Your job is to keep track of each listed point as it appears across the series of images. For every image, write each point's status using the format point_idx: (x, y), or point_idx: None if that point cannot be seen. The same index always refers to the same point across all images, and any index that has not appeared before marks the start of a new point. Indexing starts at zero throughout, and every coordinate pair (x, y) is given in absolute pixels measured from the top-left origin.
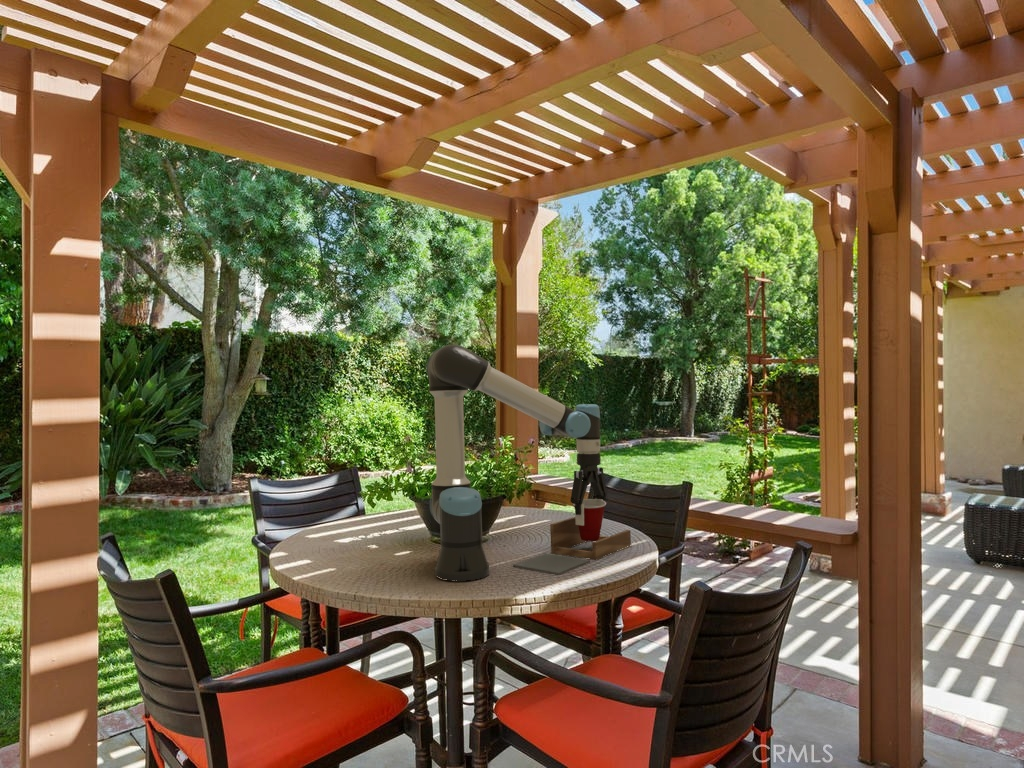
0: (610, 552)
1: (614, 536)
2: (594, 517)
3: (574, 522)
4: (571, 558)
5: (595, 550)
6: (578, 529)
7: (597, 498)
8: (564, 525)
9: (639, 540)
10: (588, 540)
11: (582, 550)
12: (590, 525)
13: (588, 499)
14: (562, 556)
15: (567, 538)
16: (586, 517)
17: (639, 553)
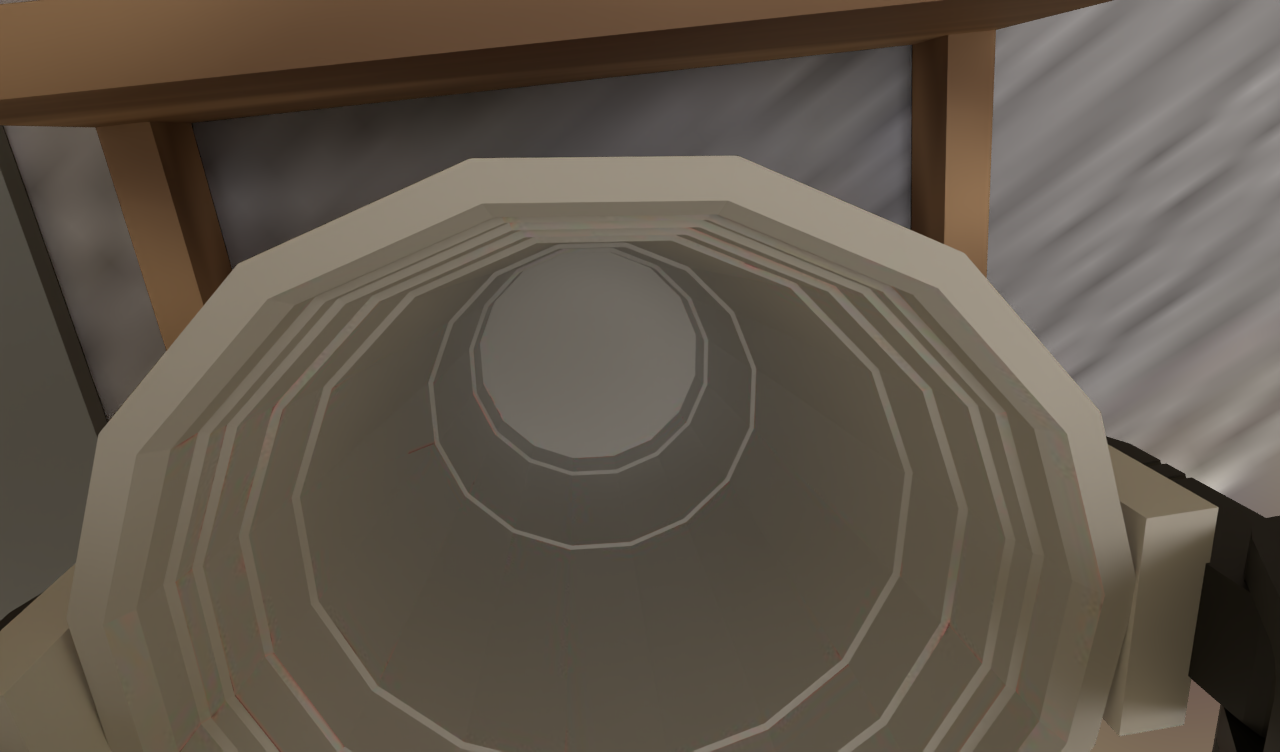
0: None
1: None
2: (477, 705)
3: (630, 43)
4: (74, 490)
5: None
6: (730, 48)
7: (1219, 576)
8: (278, 79)
9: (1188, 463)
10: (491, 414)
11: None
12: (454, 564)
13: (1025, 388)
14: (50, 367)
15: (418, 89)
16: (365, 614)
17: None
